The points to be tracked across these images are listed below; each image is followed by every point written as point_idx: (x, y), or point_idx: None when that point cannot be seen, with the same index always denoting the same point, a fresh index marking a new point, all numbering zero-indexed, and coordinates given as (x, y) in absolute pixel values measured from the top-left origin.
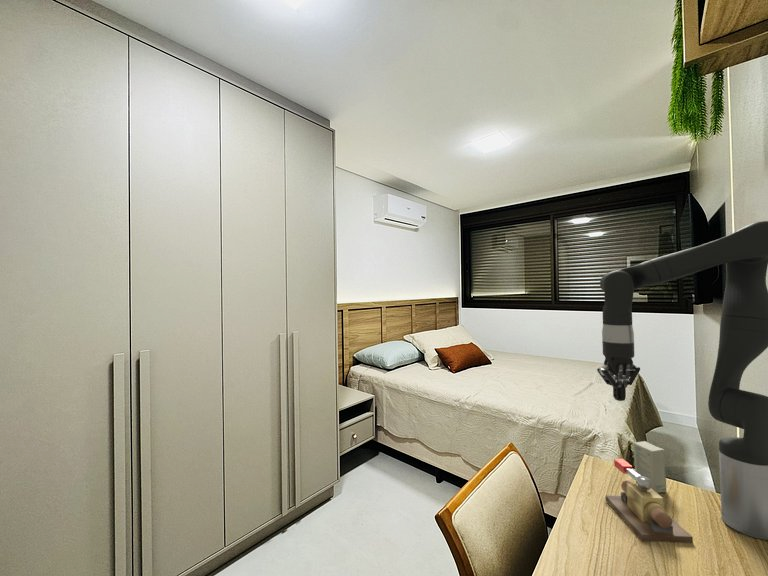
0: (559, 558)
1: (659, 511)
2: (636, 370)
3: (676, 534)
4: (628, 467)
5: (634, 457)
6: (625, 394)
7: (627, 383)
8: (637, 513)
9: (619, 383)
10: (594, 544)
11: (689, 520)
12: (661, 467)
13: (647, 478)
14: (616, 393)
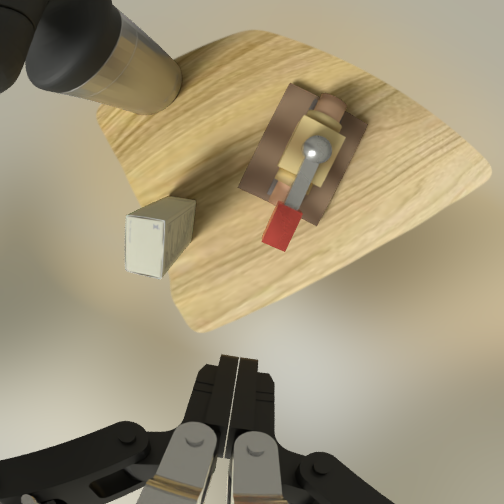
0: (478, 171)
1: (336, 107)
2: (14, 489)
3: (311, 96)
4: (290, 207)
5: (174, 261)
6: (196, 383)
7: (149, 445)
8: None
9: (266, 471)
10: (430, 160)
11: (224, 121)
12: (157, 206)
13: (308, 145)
14: (272, 408)
